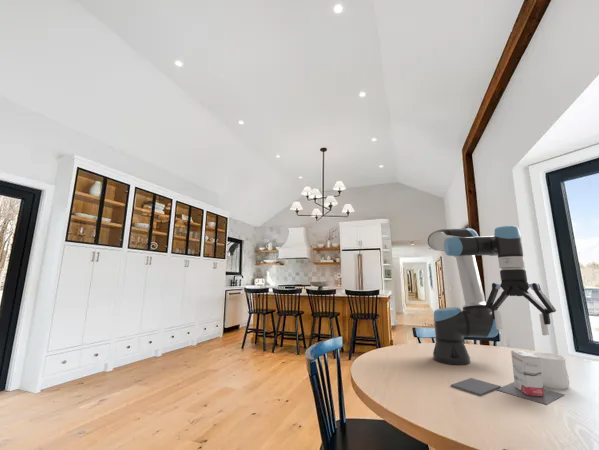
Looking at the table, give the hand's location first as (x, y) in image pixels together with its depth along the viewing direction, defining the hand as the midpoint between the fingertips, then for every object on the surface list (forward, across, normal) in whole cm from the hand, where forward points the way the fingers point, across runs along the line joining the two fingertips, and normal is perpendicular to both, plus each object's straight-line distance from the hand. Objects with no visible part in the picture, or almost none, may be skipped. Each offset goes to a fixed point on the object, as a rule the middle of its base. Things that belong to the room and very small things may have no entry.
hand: (521, 331), depth 100 cm
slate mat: (+19, 0, 0) cm, 19 cm away
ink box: (+19, 0, 0) cm, 19 cm away
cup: (+19, +1, +15) cm, 25 cm away
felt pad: (+19, -12, -10) cm, 25 cm away
